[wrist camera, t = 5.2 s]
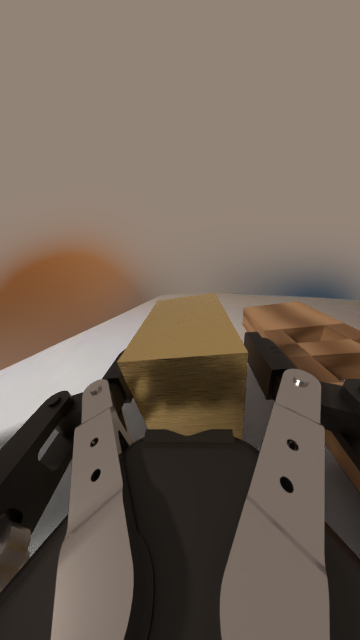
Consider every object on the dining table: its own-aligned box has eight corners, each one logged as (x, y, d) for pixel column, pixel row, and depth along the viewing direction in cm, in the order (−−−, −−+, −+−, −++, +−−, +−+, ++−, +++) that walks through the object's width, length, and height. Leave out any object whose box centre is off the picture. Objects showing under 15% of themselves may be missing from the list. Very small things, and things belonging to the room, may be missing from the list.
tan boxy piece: (171, 479, 10) (117, 362, 5) (179, 390, 16) (157, 300, 11) (239, 482, 9) (248, 352, 4) (220, 389, 15) (215, 293, 11)
